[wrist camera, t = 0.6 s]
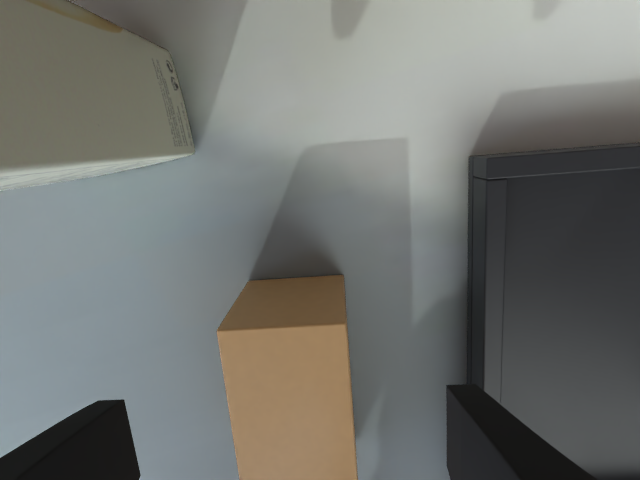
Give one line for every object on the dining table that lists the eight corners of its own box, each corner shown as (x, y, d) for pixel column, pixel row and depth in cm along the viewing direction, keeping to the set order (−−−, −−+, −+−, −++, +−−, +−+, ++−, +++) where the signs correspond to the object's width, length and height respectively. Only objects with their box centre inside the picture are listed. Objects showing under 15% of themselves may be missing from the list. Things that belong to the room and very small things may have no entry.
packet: (355, 442, 20) (361, 539, 15) (269, 446, 20) (248, 542, 15) (343, 274, 18) (346, 322, 13) (248, 280, 18) (215, 330, 13)
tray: (721, 493, 20) (765, 533, 18) (465, 500, 20) (480, 540, 18) (790, 130, 16) (859, 128, 14) (468, 156, 16) (486, 157, 14)
